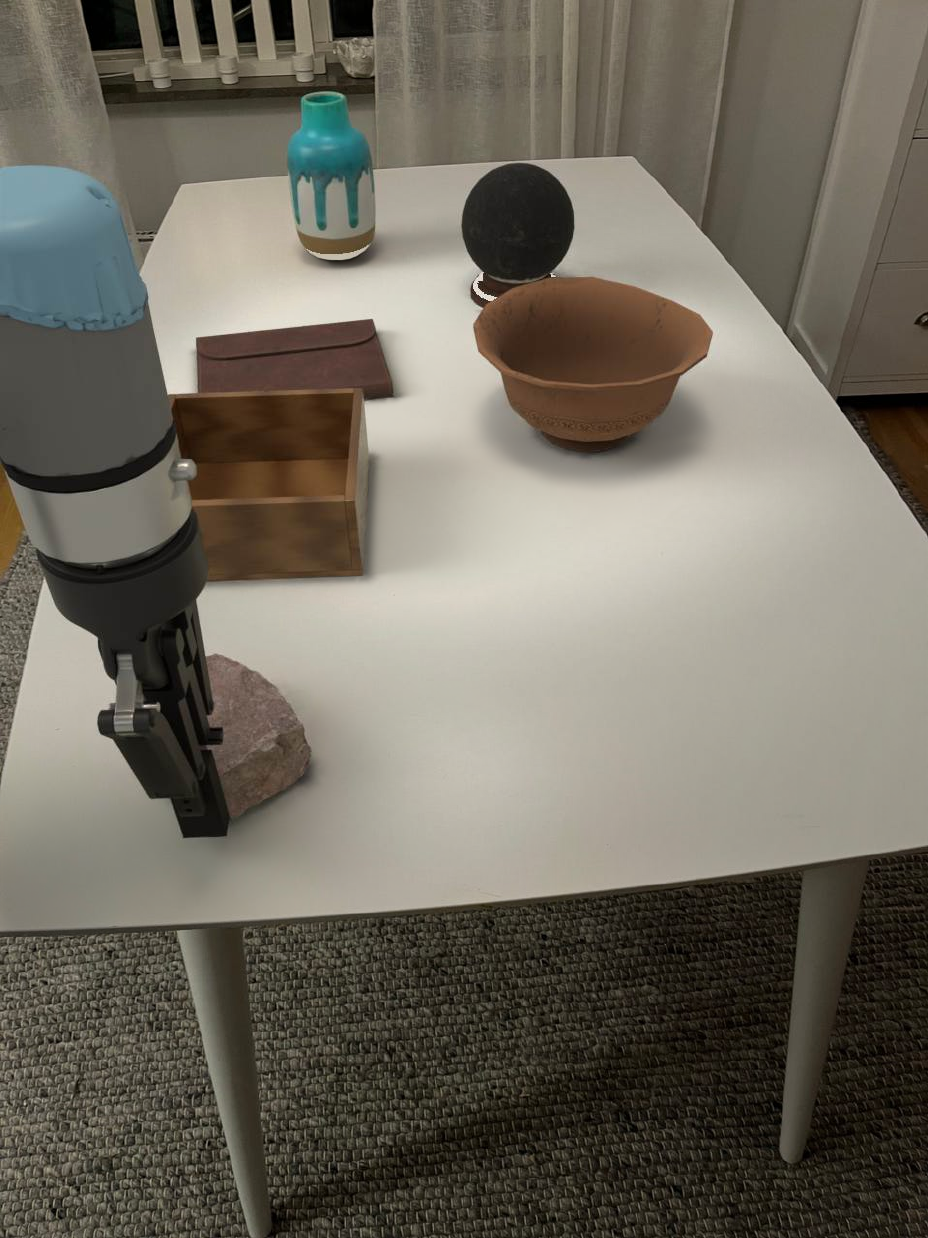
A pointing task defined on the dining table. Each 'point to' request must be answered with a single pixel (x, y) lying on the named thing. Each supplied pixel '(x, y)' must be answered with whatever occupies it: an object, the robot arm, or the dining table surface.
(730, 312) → the dining table surface
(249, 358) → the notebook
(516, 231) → the black ball on stand
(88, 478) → the robot arm
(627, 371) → the bowl
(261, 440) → the box
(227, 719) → the stone
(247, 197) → the dining table surface
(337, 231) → the vase
